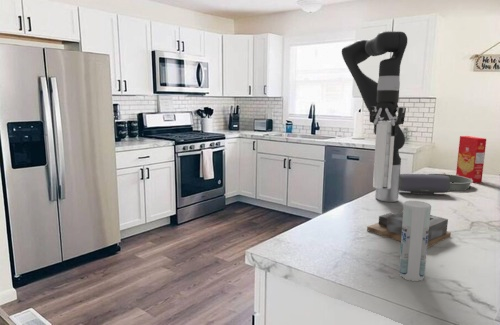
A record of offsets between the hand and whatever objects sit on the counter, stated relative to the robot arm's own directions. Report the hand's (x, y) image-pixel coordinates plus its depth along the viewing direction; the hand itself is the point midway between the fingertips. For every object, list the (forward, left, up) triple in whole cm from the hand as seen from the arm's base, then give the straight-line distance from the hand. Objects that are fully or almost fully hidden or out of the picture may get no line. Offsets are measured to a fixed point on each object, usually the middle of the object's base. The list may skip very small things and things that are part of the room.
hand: (385, 135), depth 136 cm
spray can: (+31, -32, -34) cm, 55 cm away
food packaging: (-12, +108, -34) cm, 114 cm away
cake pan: (-13, +83, -34) cm, 91 cm away
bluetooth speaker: (-12, +55, -34) cm, 66 cm away
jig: (+13, -3, -34) cm, 36 cm away
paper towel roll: (0, 0, -20) cm, 20 cm away
